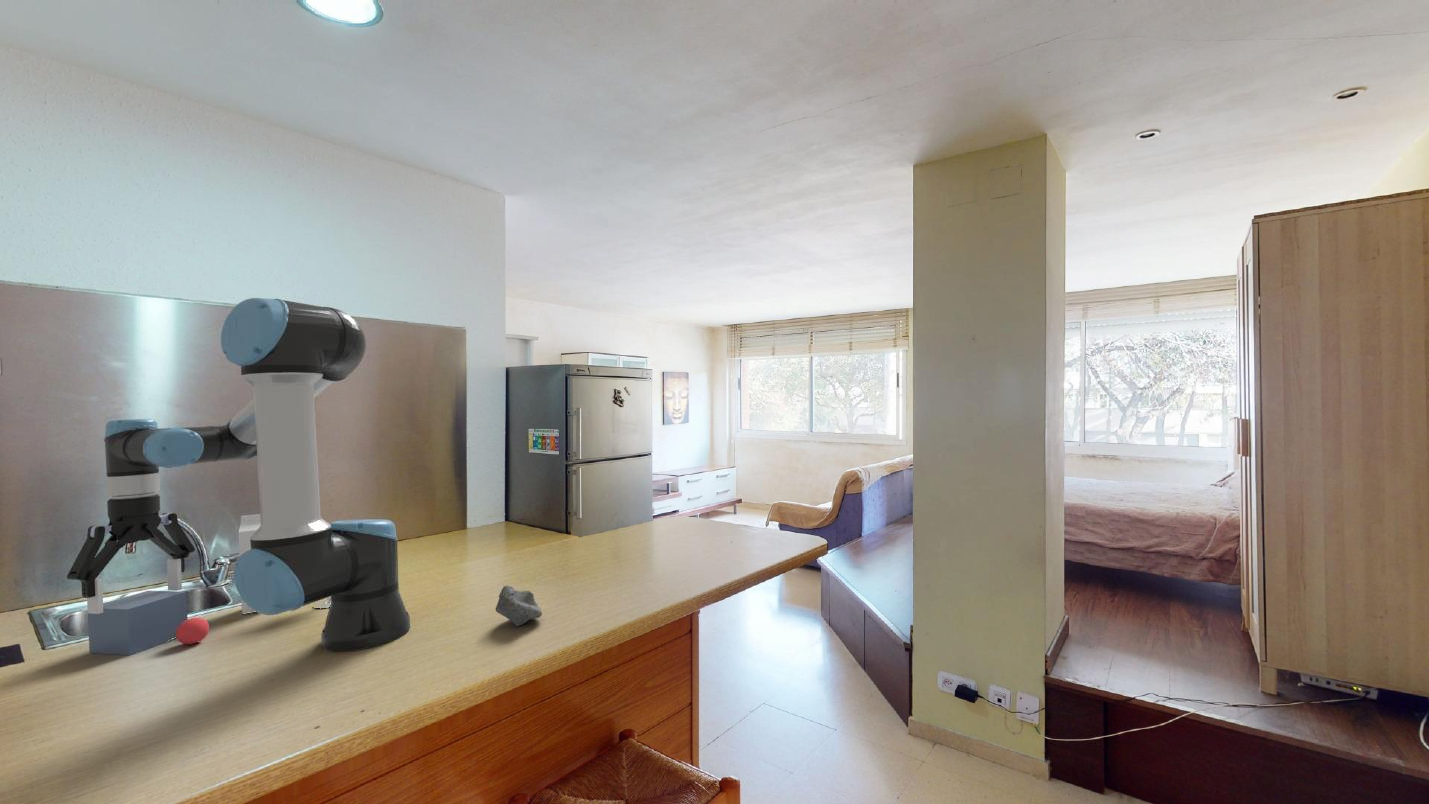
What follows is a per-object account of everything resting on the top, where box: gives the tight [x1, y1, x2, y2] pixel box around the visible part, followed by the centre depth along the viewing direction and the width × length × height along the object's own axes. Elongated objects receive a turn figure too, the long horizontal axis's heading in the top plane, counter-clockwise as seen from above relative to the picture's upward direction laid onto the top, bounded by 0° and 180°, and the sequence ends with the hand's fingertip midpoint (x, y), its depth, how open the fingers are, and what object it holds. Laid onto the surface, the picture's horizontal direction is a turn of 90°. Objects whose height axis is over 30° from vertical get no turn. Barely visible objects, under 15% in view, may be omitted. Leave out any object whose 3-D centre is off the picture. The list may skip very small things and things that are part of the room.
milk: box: [238, 513, 261, 615], centre depth 135 cm, size 6×6×22 cm
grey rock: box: [495, 585, 543, 627], centre depth 119 cm, size 11×9×8 cm
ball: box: [176, 617, 210, 645], centre depth 116 cm, size 5×5×5 cm
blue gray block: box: [87, 590, 189, 656], centre depth 117 cm, size 10×10×9 cm
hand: (137, 600), depth 117 cm, fingers open, 13 cm apart
